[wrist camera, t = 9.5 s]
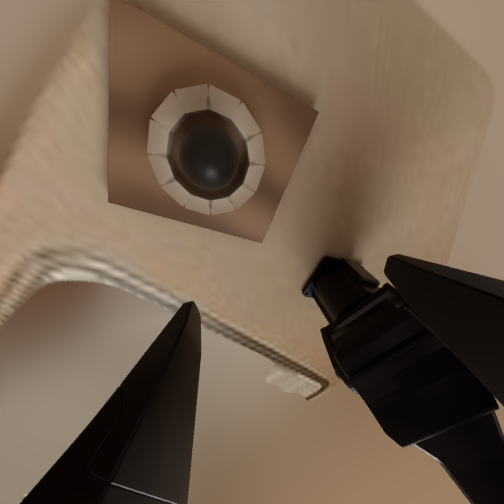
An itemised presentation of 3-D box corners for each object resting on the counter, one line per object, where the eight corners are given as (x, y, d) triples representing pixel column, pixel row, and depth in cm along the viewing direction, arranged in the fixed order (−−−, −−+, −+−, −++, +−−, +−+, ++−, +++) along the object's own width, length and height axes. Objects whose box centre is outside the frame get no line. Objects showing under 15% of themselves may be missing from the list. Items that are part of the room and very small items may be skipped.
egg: (175, 165, 15) (158, 175, 10) (199, 113, 13) (190, 100, 9) (220, 193, 16) (221, 212, 12) (246, 150, 15) (257, 153, 11)
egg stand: (259, 238, 20) (264, 250, 18) (113, 199, 16) (98, 207, 14) (313, 113, 15) (328, 108, 13) (118, 4, 11) (94, -29, 9)
